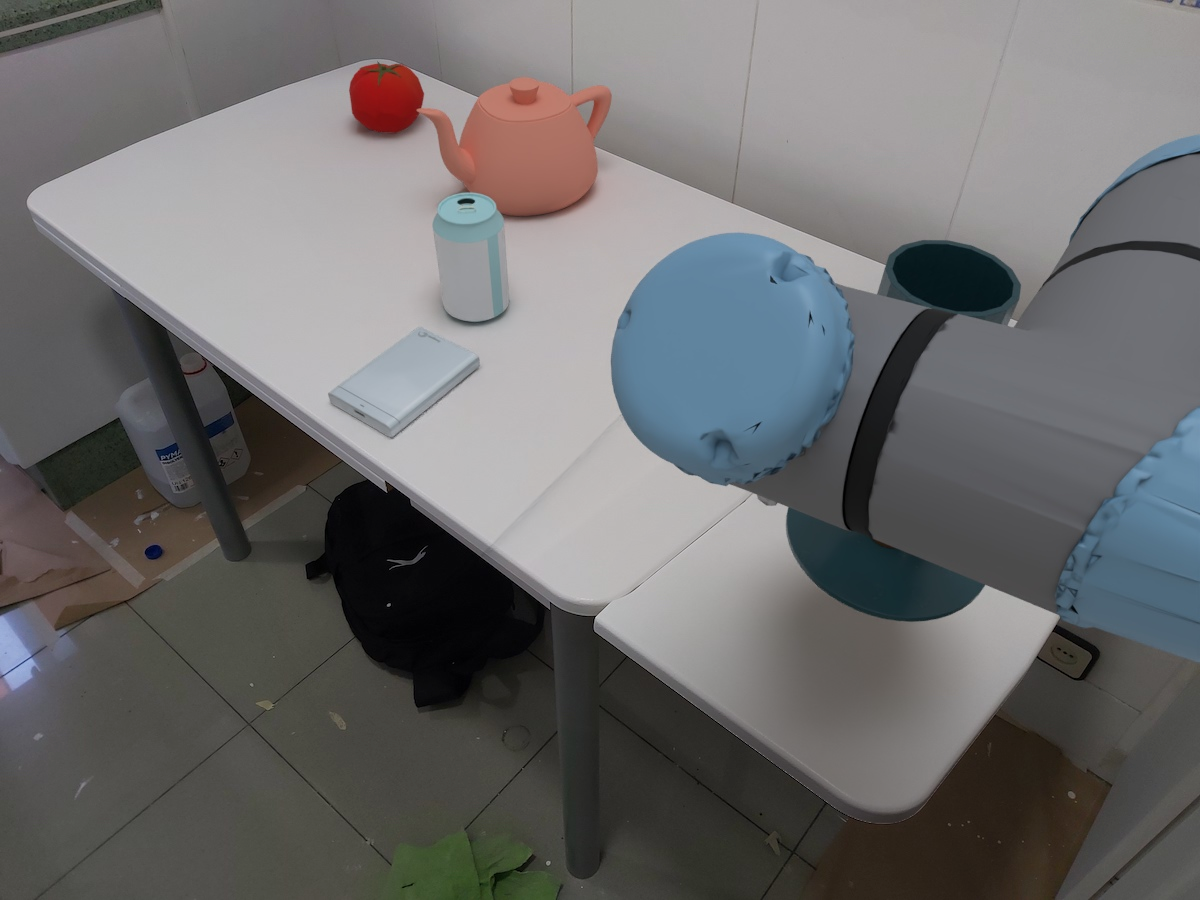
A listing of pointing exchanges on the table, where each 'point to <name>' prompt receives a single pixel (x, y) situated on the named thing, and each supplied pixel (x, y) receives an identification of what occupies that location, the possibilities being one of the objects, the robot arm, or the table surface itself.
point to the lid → (875, 573)
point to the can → (471, 257)
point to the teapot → (525, 145)
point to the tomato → (385, 97)
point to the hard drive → (404, 381)
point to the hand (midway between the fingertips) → (926, 481)
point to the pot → (952, 280)
